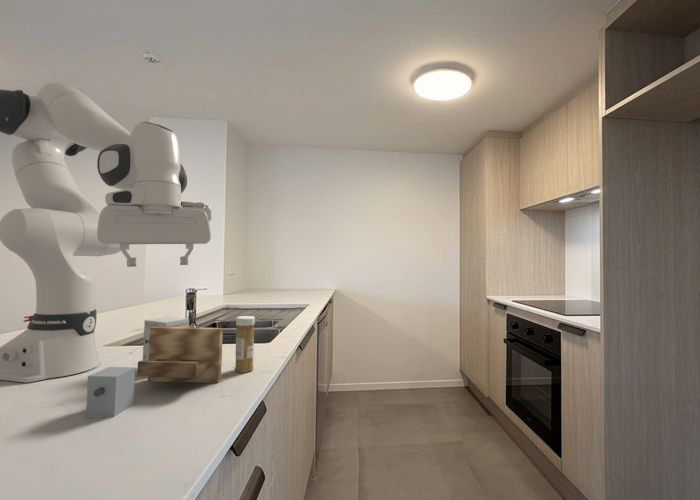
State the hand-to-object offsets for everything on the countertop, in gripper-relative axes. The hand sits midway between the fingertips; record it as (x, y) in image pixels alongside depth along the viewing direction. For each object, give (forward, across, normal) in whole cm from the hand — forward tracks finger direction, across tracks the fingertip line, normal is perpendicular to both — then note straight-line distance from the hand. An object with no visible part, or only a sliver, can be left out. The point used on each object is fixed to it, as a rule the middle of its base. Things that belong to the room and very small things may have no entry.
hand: (158, 265), depth 68 cm
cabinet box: (+26, +8, +3) cm, 28 cm away
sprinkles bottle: (+27, -18, -8) cm, 34 cm away
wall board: (+26, -3, -4) cm, 27 cm away
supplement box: (+26, -1, -18) cm, 32 cm away
